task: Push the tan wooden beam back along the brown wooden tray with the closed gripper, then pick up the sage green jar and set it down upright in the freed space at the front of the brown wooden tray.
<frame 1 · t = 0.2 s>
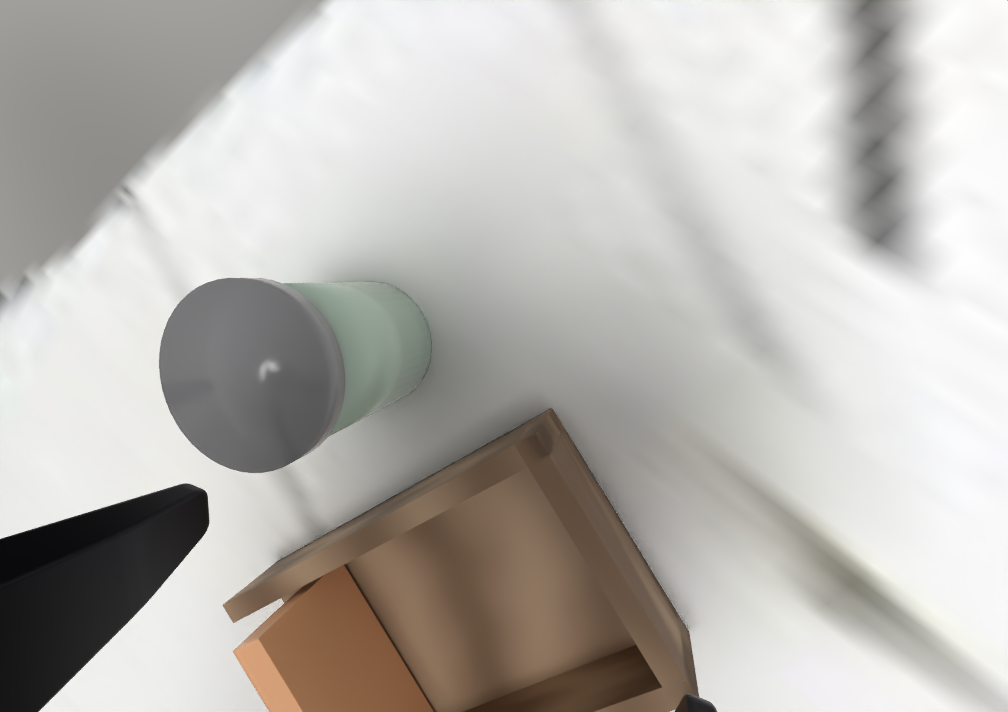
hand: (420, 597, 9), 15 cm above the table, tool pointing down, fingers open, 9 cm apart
tan wooden beam: (346, 688, 24), point 4 cm above the table, slide at 0.0 cm
brown wooden tray: (463, 593, 26), on the table
jar: (373, 343, 25), on the table
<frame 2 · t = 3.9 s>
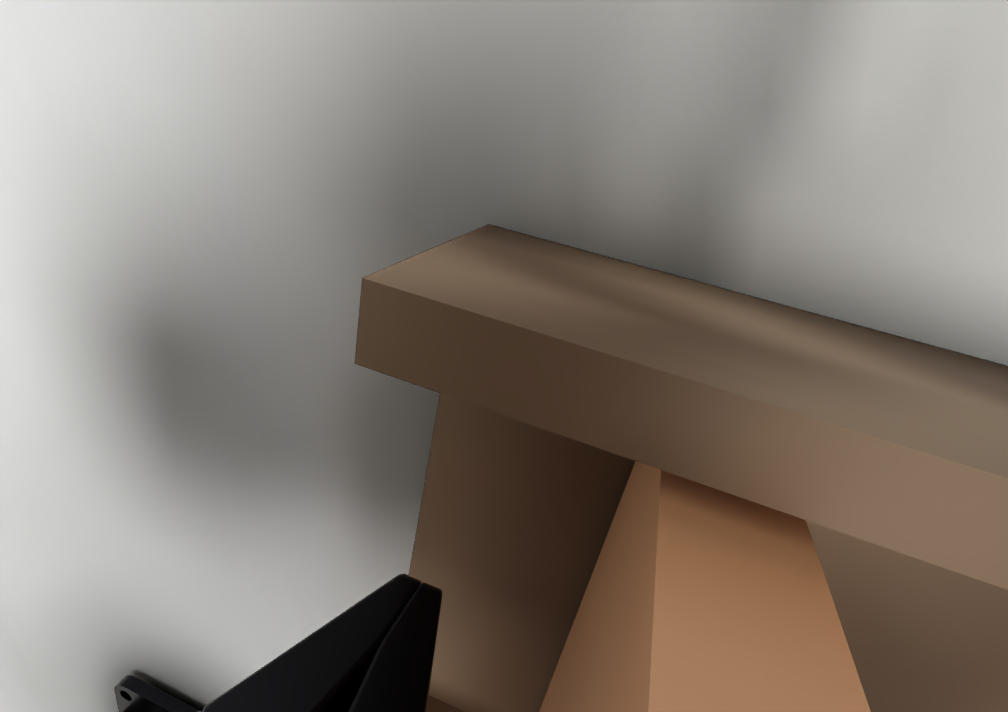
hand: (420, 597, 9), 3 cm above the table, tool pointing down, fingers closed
brown wooden tray: (876, 665, 10), on the table
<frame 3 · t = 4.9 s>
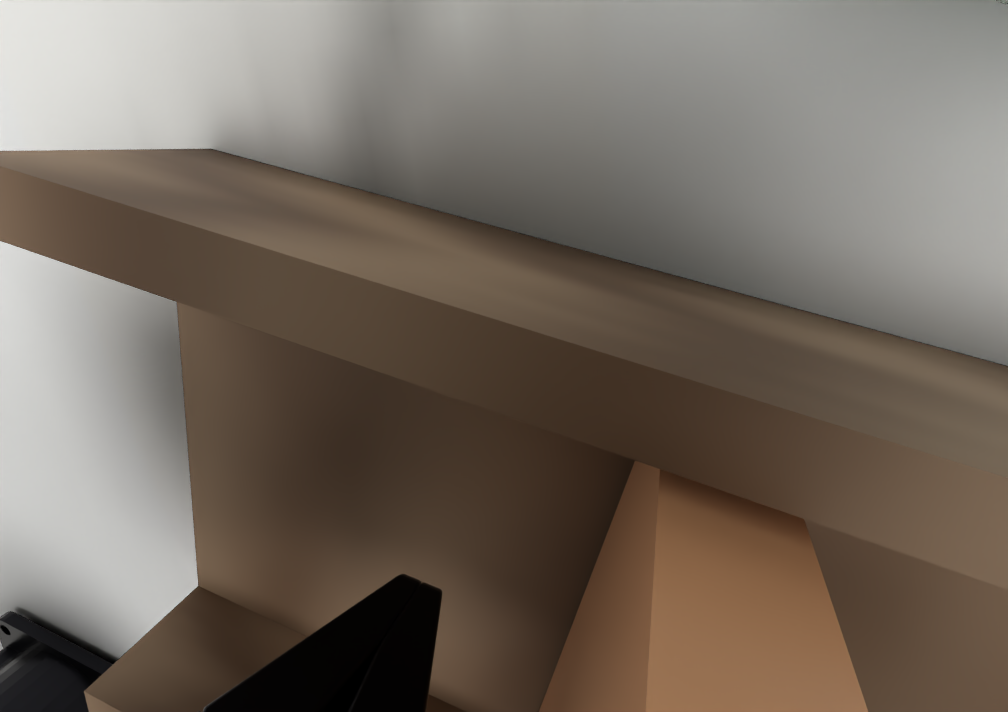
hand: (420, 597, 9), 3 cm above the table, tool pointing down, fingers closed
brown wooden tray: (580, 550, 11), on the table
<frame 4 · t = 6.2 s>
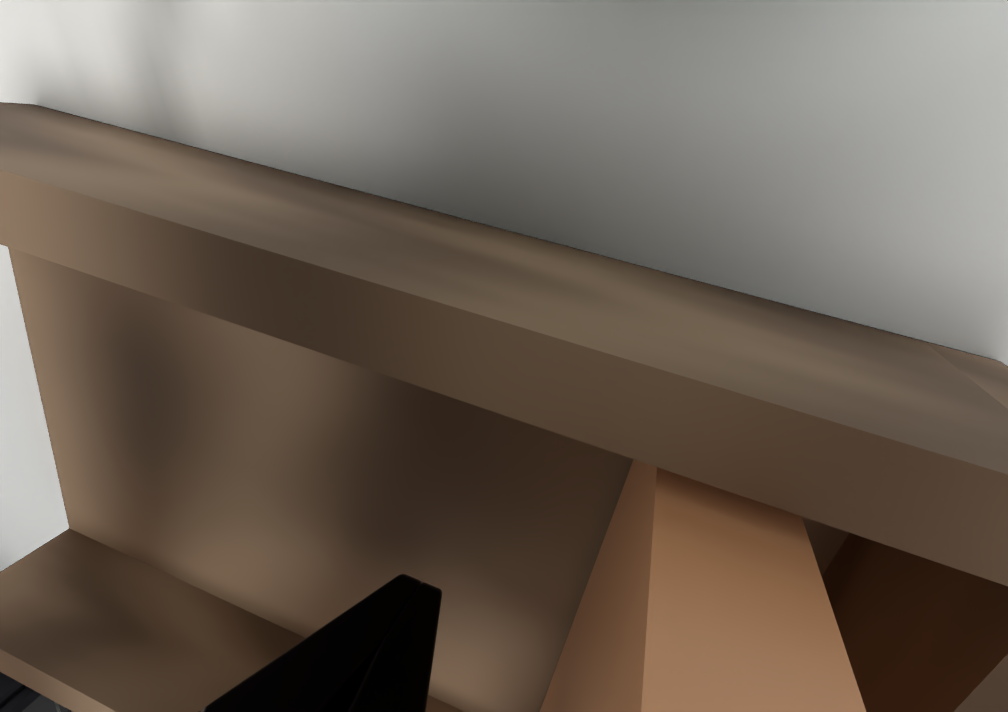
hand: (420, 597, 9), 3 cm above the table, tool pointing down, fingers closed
brown wooden tray: (390, 477, 12), on the table
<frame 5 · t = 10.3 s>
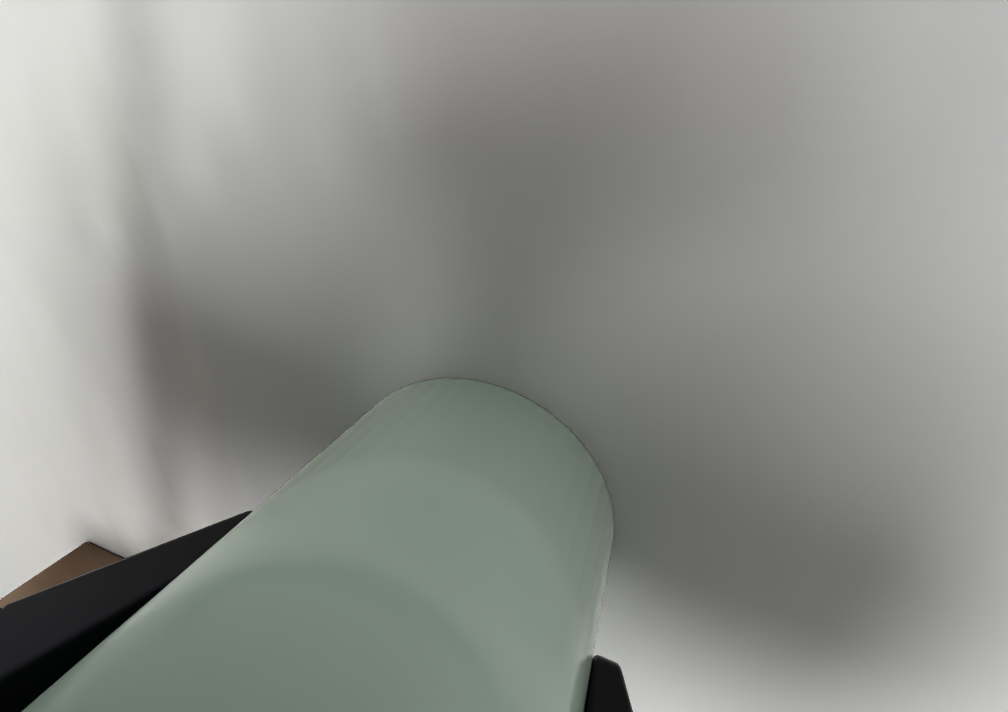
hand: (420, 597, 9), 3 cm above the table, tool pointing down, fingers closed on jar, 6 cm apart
jar: (472, 505, 11), on the table, touching gripper
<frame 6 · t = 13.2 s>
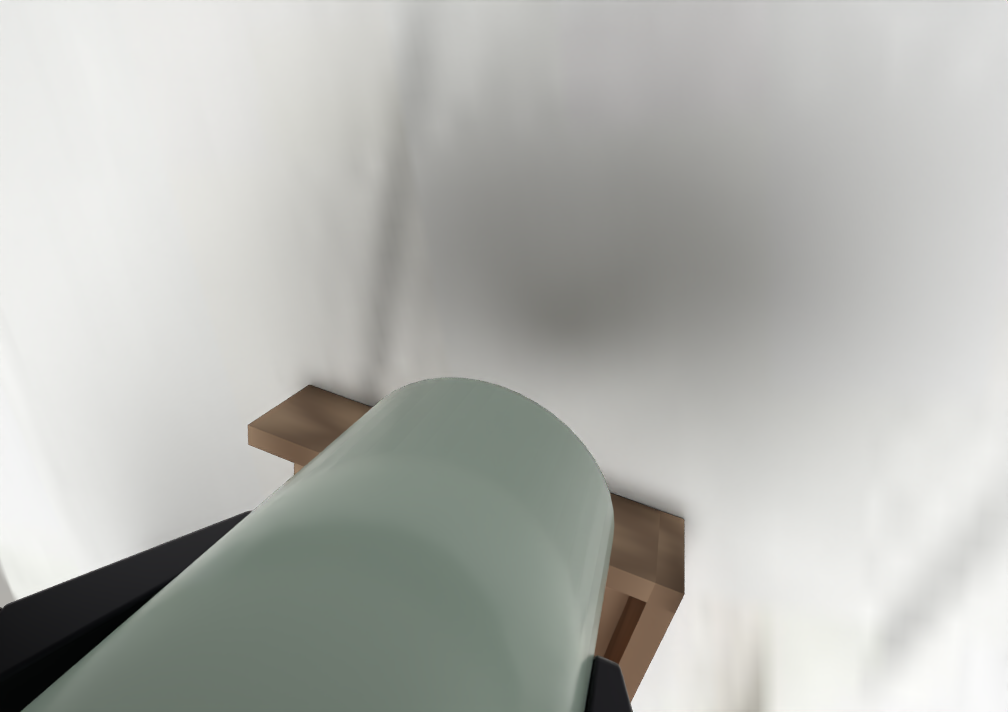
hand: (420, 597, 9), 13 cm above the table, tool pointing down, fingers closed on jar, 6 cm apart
brown wooden tray: (461, 544, 26), on the table
jar: (473, 505, 11), point 10 cm above the table, touching gripper
when the fingers open (4 cm above the table, at t = 16.5 s): jar stays where it is, resting on brown wooden tray.
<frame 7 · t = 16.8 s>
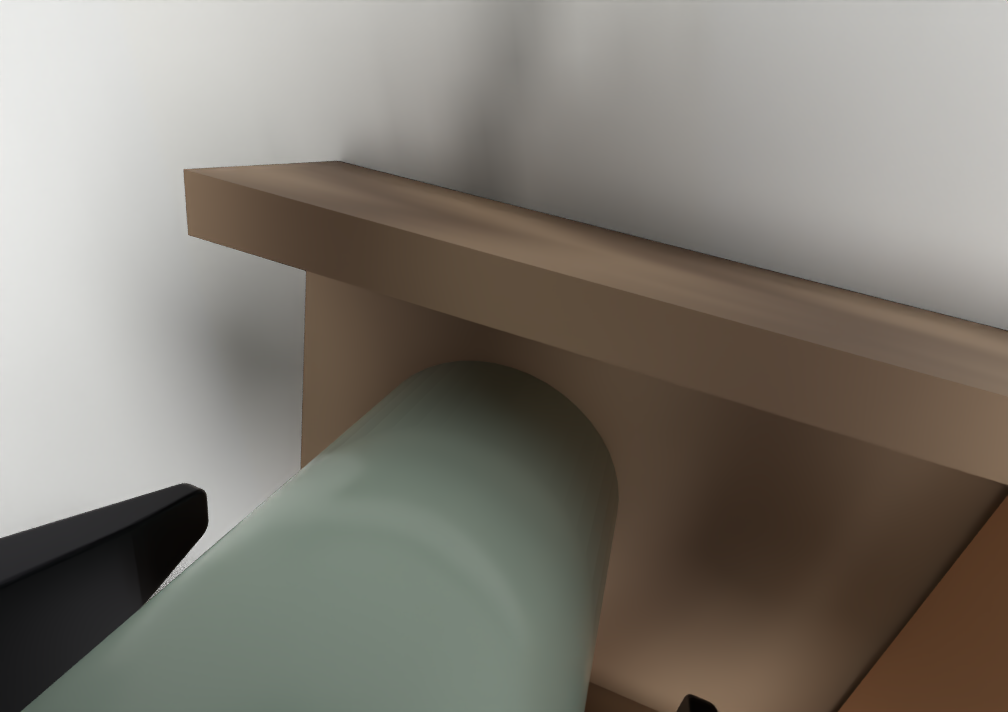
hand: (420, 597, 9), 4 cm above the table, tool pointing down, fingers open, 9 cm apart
brown wooden tray: (661, 514, 12), on the table
jar: (486, 480, 12), point 1 cm above the table, touching brown wooden tray
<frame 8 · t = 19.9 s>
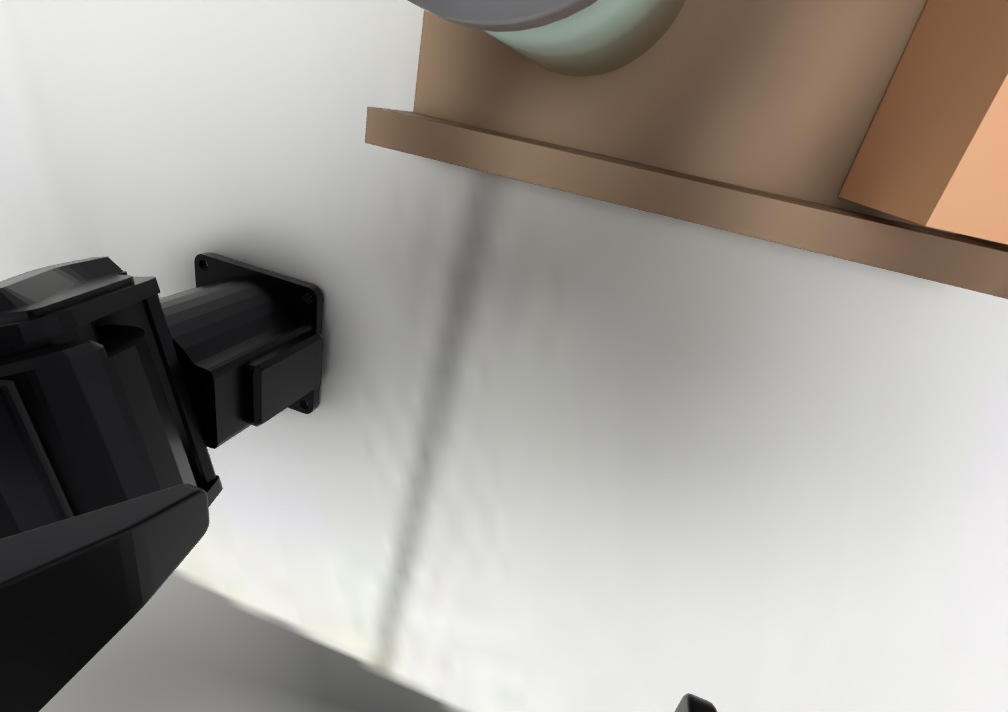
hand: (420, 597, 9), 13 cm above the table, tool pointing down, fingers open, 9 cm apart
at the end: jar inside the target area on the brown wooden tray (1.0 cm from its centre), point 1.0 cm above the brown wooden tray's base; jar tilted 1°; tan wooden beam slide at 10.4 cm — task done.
